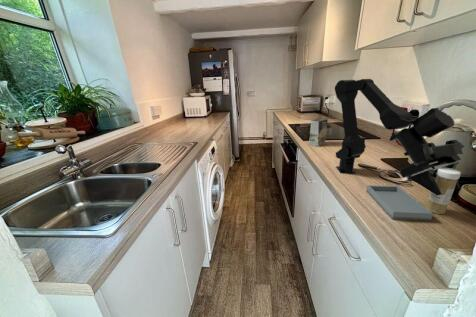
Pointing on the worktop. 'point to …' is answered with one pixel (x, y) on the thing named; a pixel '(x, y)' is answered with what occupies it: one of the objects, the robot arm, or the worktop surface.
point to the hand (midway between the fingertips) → (448, 191)
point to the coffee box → (318, 132)
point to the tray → (398, 203)
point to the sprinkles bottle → (443, 190)
